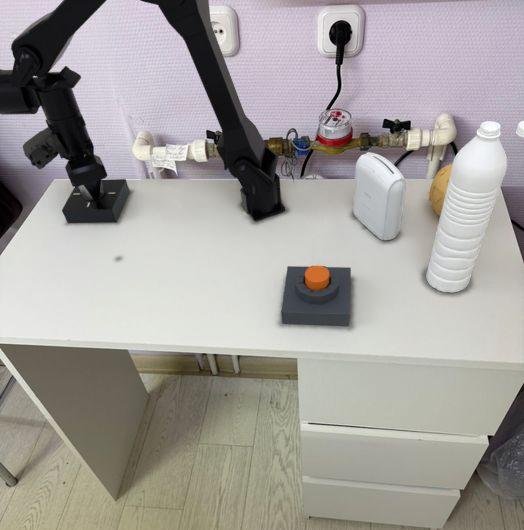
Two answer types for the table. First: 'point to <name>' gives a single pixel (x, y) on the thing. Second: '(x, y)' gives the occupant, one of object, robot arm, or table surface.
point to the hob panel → (97, 204)
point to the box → (317, 298)
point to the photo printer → (378, 195)
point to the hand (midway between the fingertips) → (93, 192)
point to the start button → (317, 277)
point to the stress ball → (439, 188)
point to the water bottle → (468, 208)
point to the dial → (87, 195)
